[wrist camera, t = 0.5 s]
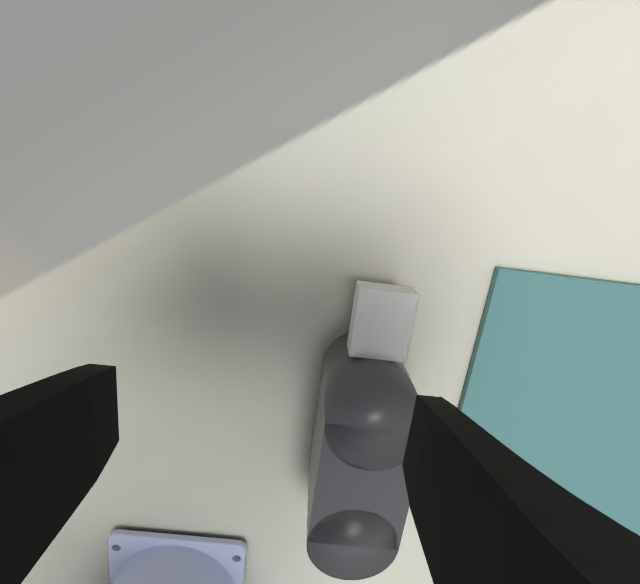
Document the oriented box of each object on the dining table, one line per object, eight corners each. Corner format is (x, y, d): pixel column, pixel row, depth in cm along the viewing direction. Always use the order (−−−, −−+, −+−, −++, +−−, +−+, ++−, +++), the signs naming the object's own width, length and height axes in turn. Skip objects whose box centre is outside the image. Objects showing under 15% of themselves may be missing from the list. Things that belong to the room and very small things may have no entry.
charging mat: (635, 546, 23) (641, 552, 22) (426, 527, 22) (428, 533, 22) (754, 298, 18) (763, 301, 18) (495, 266, 18) (499, 268, 17)
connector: (374, 494, 22) (390, 583, 17) (305, 487, 21) (301, 576, 17) (418, 278, 18) (456, 313, 13) (336, 268, 18) (343, 300, 13)
